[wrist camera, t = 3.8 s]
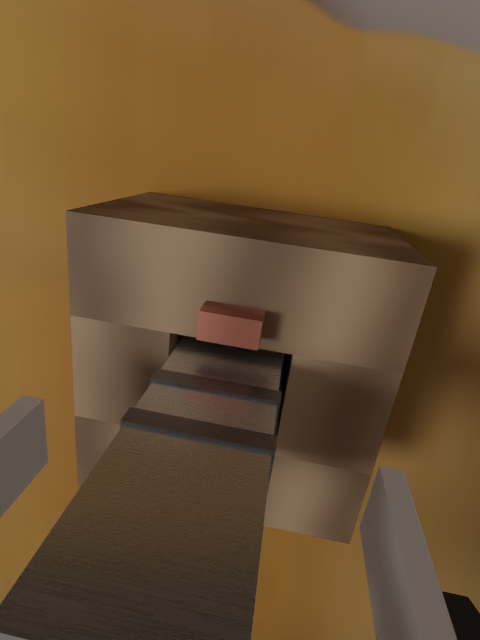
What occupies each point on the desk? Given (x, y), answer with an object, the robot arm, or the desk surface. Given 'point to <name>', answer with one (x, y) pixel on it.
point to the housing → (250, 330)
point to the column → (164, 512)
